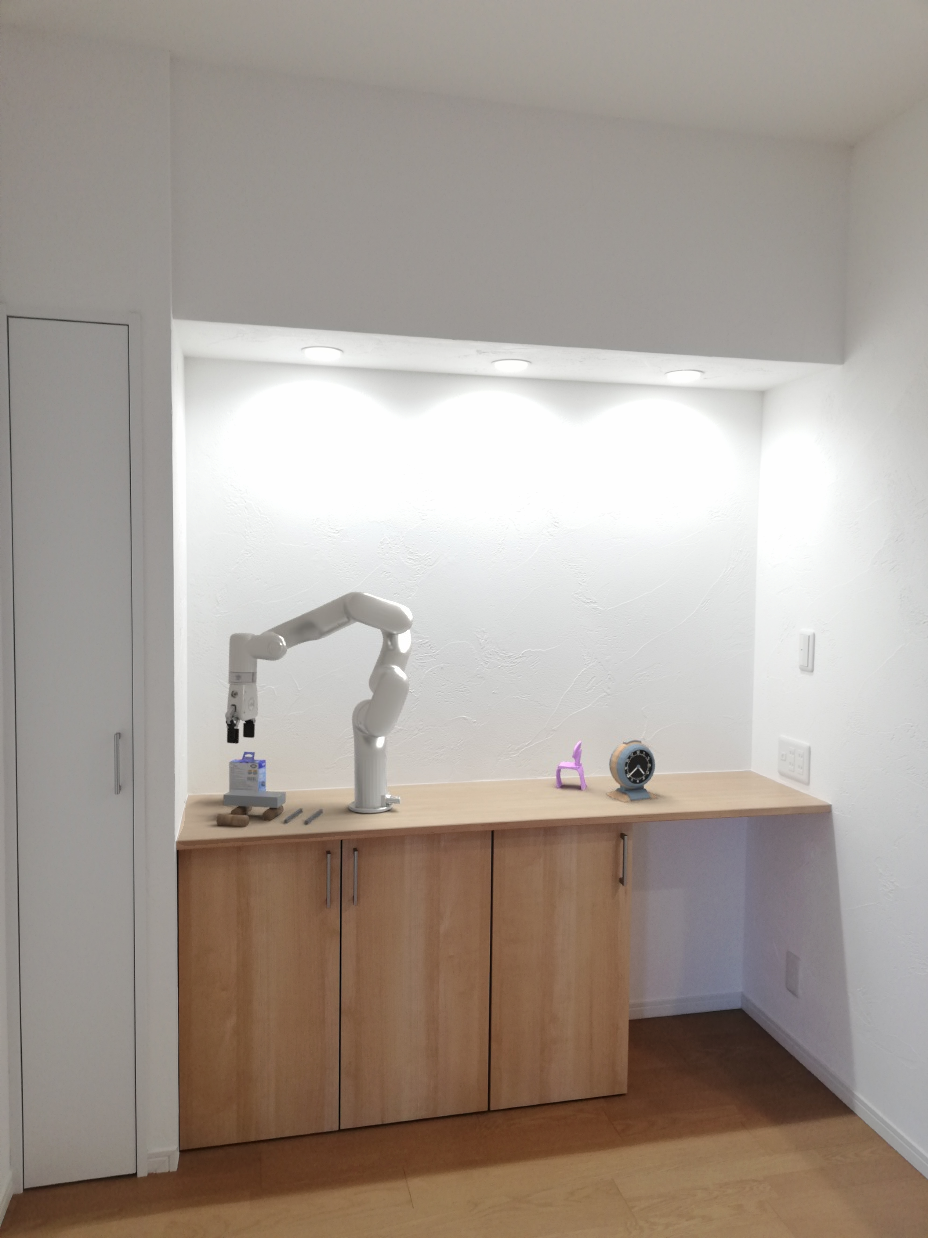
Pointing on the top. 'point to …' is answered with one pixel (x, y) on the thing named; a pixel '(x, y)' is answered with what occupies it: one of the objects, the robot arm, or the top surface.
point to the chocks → (301, 812)
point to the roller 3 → (272, 813)
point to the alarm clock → (631, 771)
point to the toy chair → (572, 767)
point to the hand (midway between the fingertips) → (240, 740)
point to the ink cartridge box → (247, 774)
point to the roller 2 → (232, 820)
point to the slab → (254, 798)
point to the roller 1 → (241, 810)
